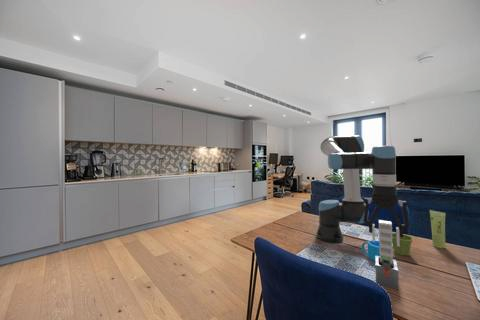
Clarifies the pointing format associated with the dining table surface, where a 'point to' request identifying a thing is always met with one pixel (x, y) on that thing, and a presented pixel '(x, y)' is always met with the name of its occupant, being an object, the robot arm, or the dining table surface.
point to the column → (385, 242)
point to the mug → (372, 249)
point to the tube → (438, 228)
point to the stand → (387, 273)
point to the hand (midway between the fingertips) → (385, 242)
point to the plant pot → (402, 244)
